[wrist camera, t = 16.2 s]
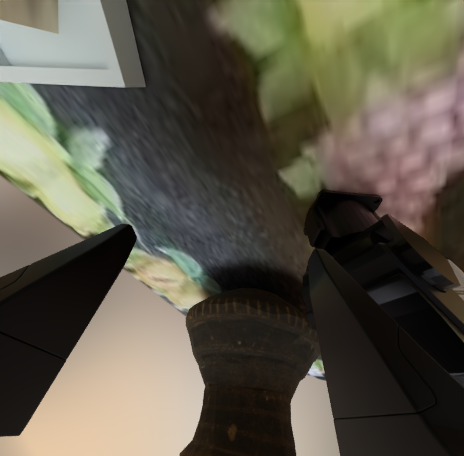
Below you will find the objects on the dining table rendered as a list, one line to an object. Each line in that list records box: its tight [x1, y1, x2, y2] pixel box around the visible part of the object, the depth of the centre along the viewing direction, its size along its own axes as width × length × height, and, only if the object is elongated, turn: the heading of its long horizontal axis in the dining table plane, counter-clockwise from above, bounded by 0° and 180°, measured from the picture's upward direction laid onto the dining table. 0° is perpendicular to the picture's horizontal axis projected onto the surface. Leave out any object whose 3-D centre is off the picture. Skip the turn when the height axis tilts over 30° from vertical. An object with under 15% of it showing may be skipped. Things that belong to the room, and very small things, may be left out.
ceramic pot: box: [180, 288, 321, 456], centre depth 28 cm, size 24×24×22 cm
